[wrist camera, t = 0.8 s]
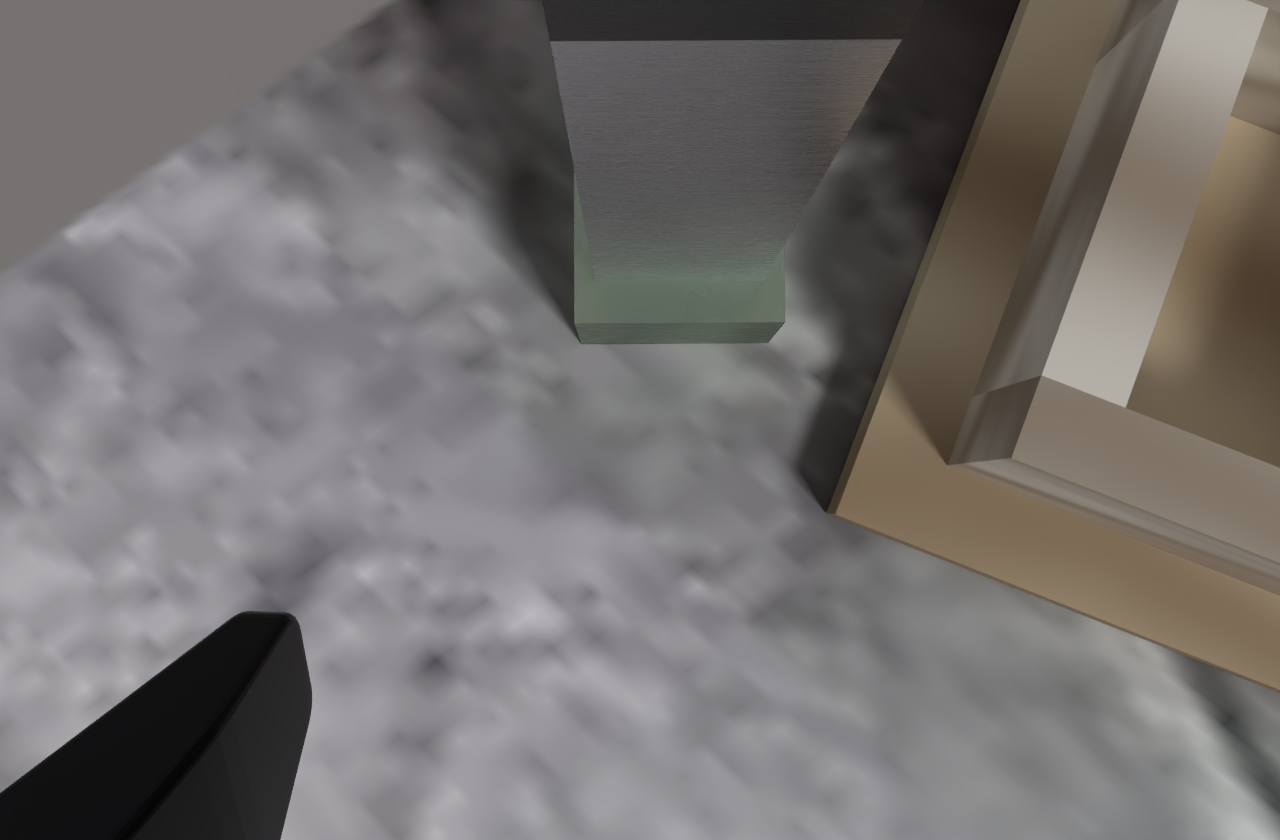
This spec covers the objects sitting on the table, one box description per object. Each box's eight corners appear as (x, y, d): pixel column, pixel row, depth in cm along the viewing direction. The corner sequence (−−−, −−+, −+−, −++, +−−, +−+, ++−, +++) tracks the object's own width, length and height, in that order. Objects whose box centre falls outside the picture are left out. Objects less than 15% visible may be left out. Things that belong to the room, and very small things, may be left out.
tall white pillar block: (768, 342, 22) (986, 79, 8) (581, 343, 22) (489, 81, 8) (763, 72, 22) (962, -603, 9) (580, 73, 22) (493, -602, 9)
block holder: (1365, 726, 21) (1564, 788, 16) (826, 513, 21) (877, 517, 17) (1565, 118, 22) (1804, 19, 17) (1049, -76, 22) (1153, -222, 18)
